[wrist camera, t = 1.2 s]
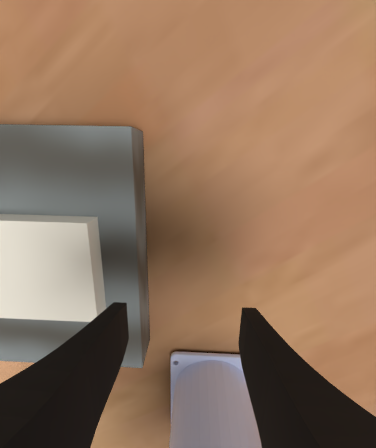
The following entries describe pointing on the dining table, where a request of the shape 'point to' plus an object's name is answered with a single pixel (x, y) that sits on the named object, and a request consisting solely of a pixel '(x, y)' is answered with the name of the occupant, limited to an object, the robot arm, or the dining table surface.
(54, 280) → the coaster
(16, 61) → the dining table surface
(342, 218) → the dining table surface
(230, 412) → the robot arm
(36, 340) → the plate
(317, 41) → the dining table surface
